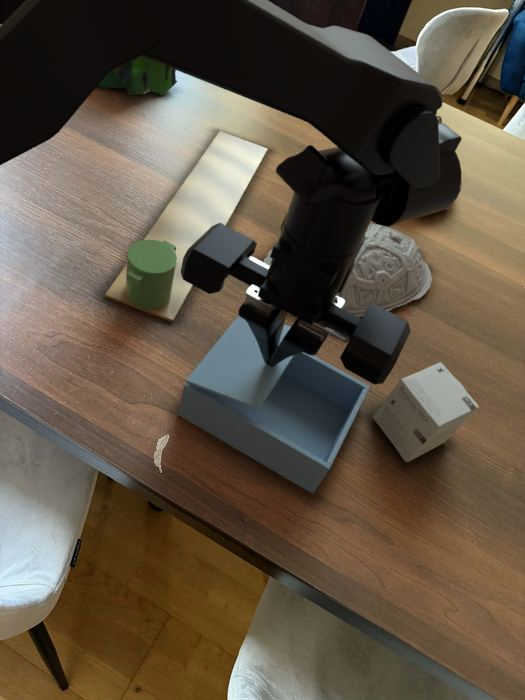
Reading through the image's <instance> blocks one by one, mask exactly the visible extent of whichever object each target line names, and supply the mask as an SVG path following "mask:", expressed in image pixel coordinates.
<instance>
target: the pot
mask: <svg viewBox="0 0 525 700" xmlns="http://www.w3.org/2000/svg"><path fill="white" fill-rule="evenodd" d="M175 251H176V246H174V245H173V244H171V243H169V242H167V241H165V240H164V241H163V242H161V241H157V240H144V239H142V240H138V241H136V242H134V243H133V244H132V245H130V247H129V248H128V250H127V255H126V264H127V268H126V282H125V294H126V296H127V298H128V300H129V301H130V302H131V303H133V304H134V305H136V306H138V307H141V308H145V309H157V308H160V307H163V306H165V305H166V304H167V303H168V302H169V301H170V299H171V297H172V291H173V285H174V278H175V272H176V266H177V254H176V252H175Z"/></svg>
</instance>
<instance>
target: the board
mask: <svg viewBox="0 0 525 700" xmlns="http://www.w3.org/2000/svg"><path fill="white" fill-rule="evenodd" d="M267 152H268V148H267V147H265V146H262V145H259V144H257V143H253V142H251V141H249V140H245V139H243V138H240V137H237V136H234V135H232V134H230V133H227V132H224V131H221V130H219V131H218V133H217V134H216V135H215V137H214V138H213V140H212V141H211V143H210V144H209V146H207V148H206V150H205V151H204V153H203V154H202V155H201V157H200V158H199V160H198V161H197V163H196V164H195V166H194V167H193V169H192V170H191V171H190V173H189V174H188V175H187V177H186V178H185V179H184V181H183V182H182V184H181V186H180V187H179V189H177V191H176V193H175V194H174V195H173V197H172V198H171V200H170V201H169V202H168V204H167V205H166V207H165V208H164V210H163V211H162V213H161V214H160V215H159V217H158V219H157V220H156V221H155V223H154V224H153V225H152V227H151V228H150V230H149V232H148V233H147V234H146V236H145V237H144V238H143V240H157V241H161V242H163V241H164V240H165V241H167V242H169V243H171V244H173V245H174V246H176V251H175V252H176V254H177V266H176V272H175V278H174V285H173V291H172V297H171V299H170V301H169V302H168V303H167V304H166V305H165V306H163V307H160V308H157V309H145V308H141V307H138V306H136V305H134V304H133V303H131V302H130V301H129V300H128V298H127V296H126V294H125V282H126V268H127V263H126V264H125V265H124V267H123V268H122V269H121V271H120V273H119V274H118V276H117V277H116V278H115V280H114V281H113V282H112V284H111V285H110V287H109V288H108V290H107V291H106V293H105V294H104V298H107V299H109V300H112V301H115V302H117V303H119V304H123V305H125V306H127V307H131V308H134V309H136V310H139V311H141V312H144V313H147V314H148V315H149V314H150V315H152V316H154V317H157V318H161V319H162V320H166V321H168V322H171V323H174V321H175V319H176V318H177V316H178V315H179V312H180V311H181V309H182V307H183V305H184V303H185V301H186V299H187V298H188V296H189V294H190V292H191V291H192V289H193V287H194V285H192V284H190V283H188V282H186V281H185V280H183V279H182V276H181V267H182V261H183V257H184V256H185V254H186V252H187V250H188V249H189V248H190V247H191V246H192V245H193V244H194V243H195V242H196V241H197V240H198V239H199V238H200V237H201V236H202V235H203V234H204V233H205V232H206V231H207V230H208V229H210V228H211V227H212V226H213V225H216V224H218V223H222V224H224V225H226V226H227V225H228V223H229V222H230V219H231V218H232V216H233V214H234V212H235V210H236V209H237V207H238V205H239V204H240V201H241V199H242V198H243V196H244V194H245V193H246V190H247V189H248V187H249V185H250V183H251V181H252V180H253V178H254V176H255V175H256V173H257V171H258V169H259V166H260V165H261V163H262V161H264V157H265V156H266V154H267Z"/></svg>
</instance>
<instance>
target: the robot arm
mask: <svg viewBox="0 0 525 700" xmlns="http://www.w3.org/2000/svg"><path fill="white" fill-rule="evenodd" d="M139 56H142V57H145V58H147V59H150V60H152V61H155V62H157V63H160V64H162V65H165V66H167V67H170V68H172V69H175V70H176V71H178V72H180V73H183V74H185V75H187V76H190V77H193V78H195V79H198V80H200V81H202V82H205V83H208V84H211V85H213V86H215V87H218V88H220V89H223V90H225V91H228V92H230V93H234V94H235V95H238V96H241V97H243V98H244V99H245V98H246V99H248V100H251V101H253V102H256V103H257V104H258V103H259V104H260V105H263V106H266V107H268V108H271V109H273V110H276V111H278V112H282V113H284V114H285V115H289V116H291V117H294V118H295V119H298V120H301V121H304V122H305V123H308V124H309V125H311V126H312V127H313V128H314V129H316V130H317V131H318V132H320V134H322V135H323V136H324V137H325V138H326V139H328V140H329V141H330V142H331V143H333V144H334V145H335V146H336V147H330V148H325V149H321V150H318V149H317V148H316V147H315V146H314V145H313V144H309V145H307V146H306V147H305V148H304V149H303V150H302V151H300V152H299V153H297V154H295V155H291V156H288V157H286V158H285V159H283V161H282V162H280V163H279V164H278V165H277V166H276V168H275V174H276V175H277V176H279V178H280V179H281V180H282V181H283V182H284V183H285V184H286V185H287V186H288V187H289V188H290V189H291V190H292V191H293V193H292V197H291V200H290V202H289V206H288V208H287V212H286V214H285V215H284V217H283V220H282V222H281V225H280V233H279V237H278V240H277V241H276V243H275V244H274V245H273V246H272V248H273V249H272V248H271V250H272V252H271V255H270V257H271V258H272V261H271V264H270V266H269V265H267V264H265V263H264V261H262V260H260V259H258V258H256V257H254V256H253V255H254V254H255V252H256V247H257V242H256V240H254V239H252V238H250V237H249V236H246V235H245V234H243V233H241V232H239V231H237V230H236V229H233V228H231V227H230V226H227V225H224V224H222V223H218V224H216V225H213V226H212V227H211V228H210V229H208V230H207V231H206V232H205V233H204V234H203V235H202V236H201V237H200V238H199V239H198V240H197V241H196V242H195V243H194V244H193V245H192V246H191V247H190V248H189V249H188V250H187V252H186V254H185V256H184V257H183V261H182V267H181V276H182V279H183V280H185V281H186V282H188V283H190V284H192V285H193V287H196V288H197V289H200V290H201V291H203V292H205V293H206V294H208V295H212V294H216V293H219V292H221V291H222V290H223V288H224V285H225V280H226V279H227V278H228V277H229V276H231V277H232V278H234V279H237V280H238V281H241V282H242V283H244V284H246V285H248V286H249V287H248V288H247V289H246V291H245V293H244V295H245V299H244V302H243V303H242V304H241V305H240V306H239V308H238V316H240V317H241V318H242V319H244V320H246V321H247V323H248V325H249V327H250V329H251V331H252V333H253V334H254V336H255V338H256V341H257V343H258V346H259V348H260V351H261V354H262V357H263V360H264V362H265V363H266V364H267V365H269V366H271V367H274V366H275V365H277V364H278V363H280V362H281V361H283V360H284V359H286V358H288V357H290V356H293V355H296V354H299V353H302V352H304V353H306V354H308V355H314V356H315V355H317V354H318V352H319V350H320V349H321V347H322V346H323V344H324V343H325V341H326V339H327V338H328V337H329V336H331V337H333V338H335V339H336V340H339V341H340V342H342V343H344V344H346V346H345V348H344V349H343V351H342V352H341V354H340V357H339V359H340V361H341V363H342V365H343V367H344V369H345V370H347V371H349V372H350V373H352V374H354V375H356V376H358V377H359V378H361V379H363V380H365V381H367V382H369V383H371V384H372V385H382V384H384V383H385V381H386V380H387V378H388V377H389V375H390V374H391V372H392V371H393V369H394V367H395V365H396V363H397V362H398V360H399V357H400V355H401V353H402V351H403V350H404V349H403V348H404V346H405V344H406V342H407V340H408V338H409V335H410V334H411V326H410V324H409V323H410V322H409V321H408V320H406V319H404V318H402V317H400V316H398V315H396V314H394V313H392V312H391V311H390V310H389V311H387V310H385V309H383V308H381V307H379V306H377V305H375V304H373V303H372V302H371V303H370V305H369V307H368V308H367V310H366V312H365V314H364V315H363V316H361V317H357V316H355V315H353V314H351V313H349V312H347V311H346V310H344V309H342V307H343V306H344V304H345V300H344V299H343V298H341V297H339V296H337V293H341V291H342V290H343V288H344V286H345V285H346V282H347V280H348V278H349V276H350V274H351V272H352V270H353V268H354V265H355V259H356V257H357V255H358V253H359V251H360V249H361V247H362V245H363V243H364V241H365V239H366V237H365V233H366V231H367V229H368V226H369V224H371V222H372V223H373V224H376V225H381V226H386V227H388V228H390V227H392V226H395V225H399V224H402V223H405V222H409V221H411V220H415V219H419V218H422V217H425V216H428V215H432V214H436V213H439V212H441V211H443V210H444V209H446V208H447V207H449V206H450V207H451V206H452V205H453V203H454V202H455V201H456V200H457V198H458V196H459V195H460V193H461V191H460V184H461V179H462V174H463V173H462V167H461V162H460V159H459V156H458V153H457V152H456V151H457V149H458V147H459V146H460V143H461V142H462V136H461V135H459V134H458V133H457V132H455V131H454V130H453V129H452V128H451V127H450V126H448V125H447V124H446V123H444V122H442V123H441V124H438V119H437V116H438V115H437V114H438V110H439V109H441V108H442V107H443V103H444V102H443V101H444V100H443V94H442V92H441V91H440V89H439V88H438V87H437V86H436V85H435V84H433V83H432V82H431V81H429V80H428V79H427V78H426V77H424V76H423V75H422V74H420V73H419V72H418V71H416V70H415V69H414V68H413V67H411V66H410V65H408V64H407V63H406V62H405V61H403V60H402V59H401V58H399V57H398V56H397V55H396V54H394V53H393V52H391V51H390V50H389V49H388V48H386V47H385V46H384V45H383V44H381V43H380V42H378V41H377V40H376V39H375V38H373V37H372V36H371V35H368V34H367V33H363V32H359V31H355V30H352V29H349V28H346V27H342V26H338V25H330V26H327V27H320V26H319V27H318V26H315V25H311V24H308V23H307V22H304V21H303V20H301V19H299V18H298V17H296V16H294V15H292V14H291V13H290V12H288V11H286V10H284V9H283V8H281V7H280V6H279V5H276V4H275V3H273V2H272V1H270V0H0V166H2V165H4V164H5V163H8V162H10V161H11V160H13V159H16V158H17V157H19V156H21V155H23V154H25V153H27V152H28V151H31V150H32V149H34V148H37V147H38V146H40V145H43V144H44V143H46V142H48V141H50V140H51V139H52V138H53V137H55V136H56V135H57V134H59V133H60V131H61V130H62V129H63V128H64V127H65V125H66V124H67V123H68V122H69V121H70V120H71V119H72V117H73V116H74V115H75V114H76V113H77V111H78V110H79V109H80V108H81V106H82V105H83V103H85V101H86V100H87V99H88V98H89V97H90V95H91V94H92V93H93V92H94V91H95V89H96V88H97V87H99V86H98V85H99V83H100V82H101V81H102V80H103V79H104V77H105V76H106V75H107V74H108V73H109V72H110V71H111V70H113V69H115V68H117V67H119V66H121V65H123V64H125V63H127V62H129V61H131V60H133V59H135V58H137V57H139ZM446 210H447V209H446ZM438 211H439V212H438ZM444 211H445V210H444ZM288 314H289V315H291V316H293V317H295V318H296V319H295V321H293V323H292V325H291V328H290V329H289V331H288V332H287V333H286V335H285V336H284V338H283V340H282V341H281V343H280V344H279V341H280V338H281V334H282V330H283V326H284V324H285V322H286V318H287V315H288ZM278 345H279V346H278Z"/></svg>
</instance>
